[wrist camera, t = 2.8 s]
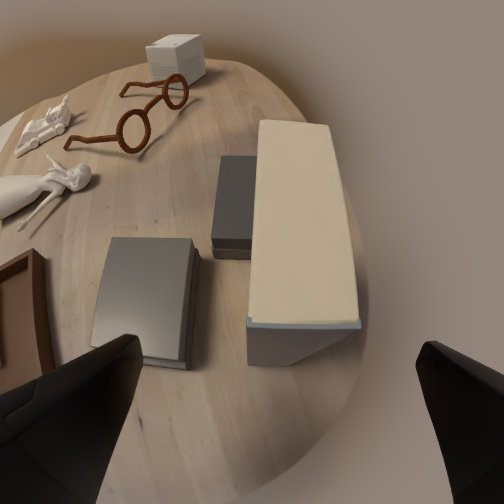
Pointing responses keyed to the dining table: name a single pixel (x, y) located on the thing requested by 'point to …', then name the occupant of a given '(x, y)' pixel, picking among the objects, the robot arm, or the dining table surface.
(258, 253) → the white book
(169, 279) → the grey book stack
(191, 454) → the dining table surface
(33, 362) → the book tray
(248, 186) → the dark grey book stack
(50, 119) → the toy car
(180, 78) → the glasses
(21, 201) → the woman figurine
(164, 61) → the white cardboard box
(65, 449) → the robot arm
